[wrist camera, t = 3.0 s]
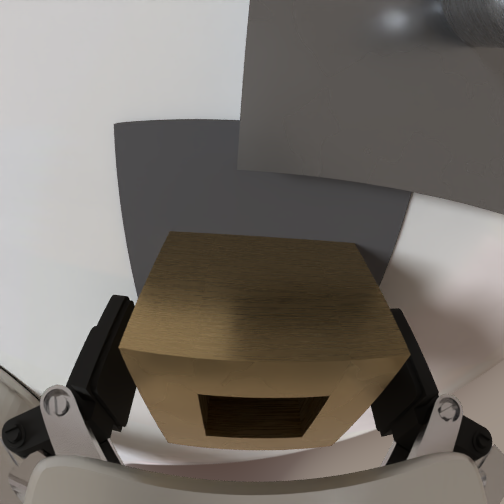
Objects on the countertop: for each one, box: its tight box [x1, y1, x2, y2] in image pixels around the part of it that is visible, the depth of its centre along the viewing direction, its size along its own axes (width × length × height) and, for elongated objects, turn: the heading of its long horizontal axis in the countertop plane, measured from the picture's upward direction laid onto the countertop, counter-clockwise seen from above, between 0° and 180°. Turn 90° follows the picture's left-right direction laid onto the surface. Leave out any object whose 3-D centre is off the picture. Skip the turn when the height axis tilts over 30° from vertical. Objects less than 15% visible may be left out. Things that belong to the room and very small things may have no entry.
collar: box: [118, 231, 411, 450], centre depth 9 cm, size 6×6×5 cm
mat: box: [114, 119, 411, 298], centre depth 11 cm, size 14×10×1 cm
